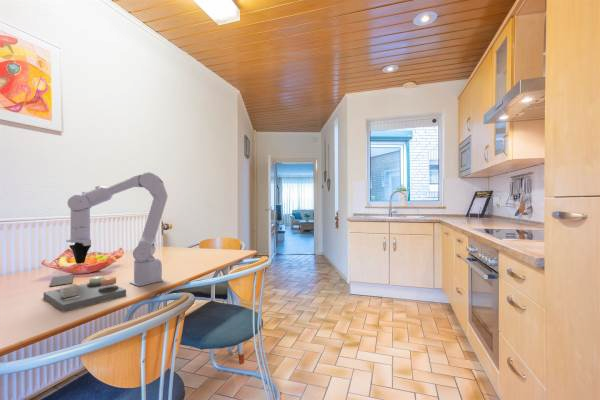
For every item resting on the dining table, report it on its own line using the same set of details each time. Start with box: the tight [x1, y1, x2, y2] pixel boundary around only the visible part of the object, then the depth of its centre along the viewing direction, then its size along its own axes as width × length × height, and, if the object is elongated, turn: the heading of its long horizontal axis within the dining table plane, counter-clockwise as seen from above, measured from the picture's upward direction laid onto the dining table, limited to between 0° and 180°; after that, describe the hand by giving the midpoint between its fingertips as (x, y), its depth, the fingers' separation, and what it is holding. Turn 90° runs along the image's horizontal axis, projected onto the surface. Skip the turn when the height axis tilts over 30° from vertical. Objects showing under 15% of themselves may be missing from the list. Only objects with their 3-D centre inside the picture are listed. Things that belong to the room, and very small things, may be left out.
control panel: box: [43, 282, 127, 313], centre depth 93 cm, size 17×20×3 cm
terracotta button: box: [101, 276, 117, 286], centre depth 94 cm, size 4×4×2 cm
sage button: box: [88, 275, 105, 284], centre depth 100 cm, size 4×4×2 cm
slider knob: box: [59, 283, 79, 298], centre depth 87 cm, size 4×3×3 cm
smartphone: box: [49, 274, 74, 288], centre depth 111 cm, size 7×1×15 cm
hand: (80, 263), depth 102 cm, fingers closed
